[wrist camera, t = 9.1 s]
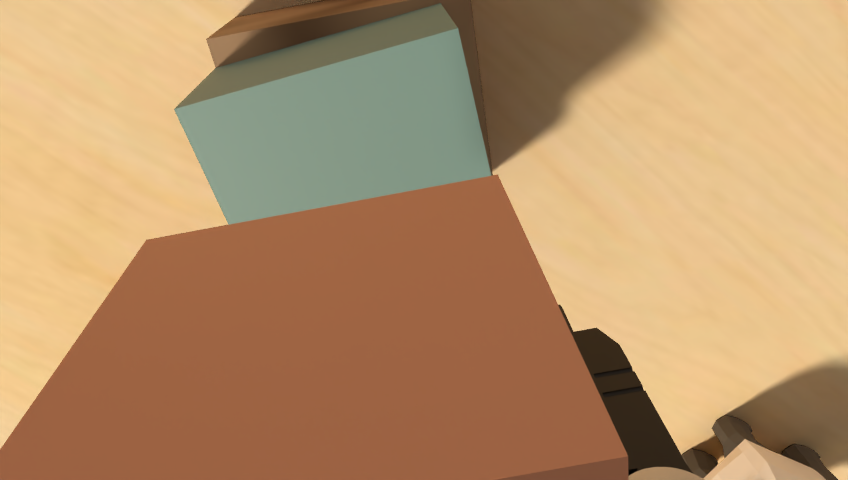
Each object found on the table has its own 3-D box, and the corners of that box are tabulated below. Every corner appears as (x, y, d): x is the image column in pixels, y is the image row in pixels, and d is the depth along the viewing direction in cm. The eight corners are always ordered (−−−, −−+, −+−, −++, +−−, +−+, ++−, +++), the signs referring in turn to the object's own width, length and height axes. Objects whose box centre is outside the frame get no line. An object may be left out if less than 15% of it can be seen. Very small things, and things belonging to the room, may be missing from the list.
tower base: (452, -25, 25) (468, -12, 20) (480, 176, 29) (498, 224, 25) (236, 16, 25) (206, 38, 21) (295, 211, 29) (280, 264, 25)
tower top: (440, 2, 21) (457, 28, 16) (488, 209, 24) (513, 274, 20) (215, 67, 21) (174, 109, 17) (297, 260, 25) (280, 335, 20)
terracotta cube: (497, 174, 10) (628, 456, 5) (529, 431, 13) (632, 785, 8) (146, 240, 10) (-94, 584, 5) (253, 480, 13) (171, 861, 8)
